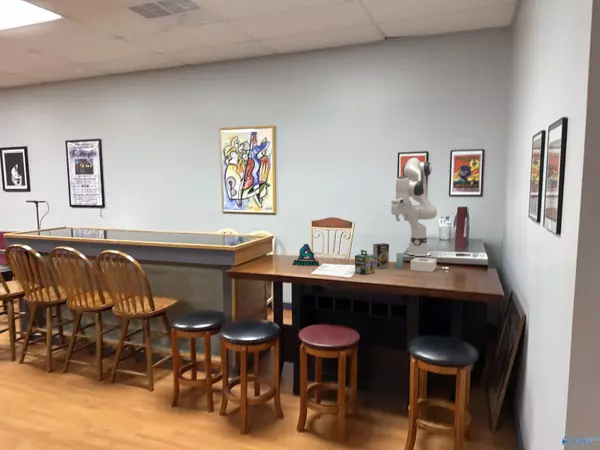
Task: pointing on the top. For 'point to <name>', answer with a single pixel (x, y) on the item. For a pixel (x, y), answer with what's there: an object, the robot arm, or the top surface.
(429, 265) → the hole block
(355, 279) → the top surface
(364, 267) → the chalk box
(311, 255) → the decorative sign
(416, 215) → the robot arm
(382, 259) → the coffee box
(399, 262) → the pin
